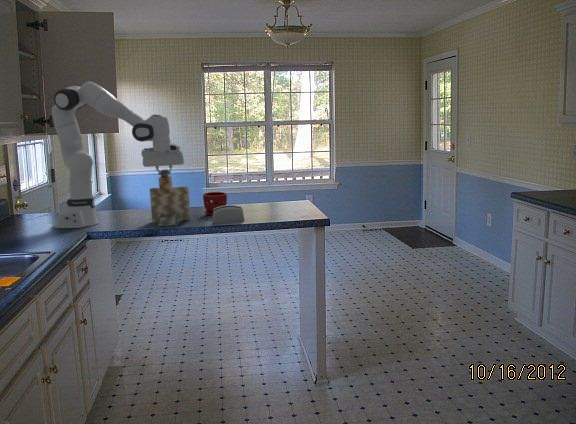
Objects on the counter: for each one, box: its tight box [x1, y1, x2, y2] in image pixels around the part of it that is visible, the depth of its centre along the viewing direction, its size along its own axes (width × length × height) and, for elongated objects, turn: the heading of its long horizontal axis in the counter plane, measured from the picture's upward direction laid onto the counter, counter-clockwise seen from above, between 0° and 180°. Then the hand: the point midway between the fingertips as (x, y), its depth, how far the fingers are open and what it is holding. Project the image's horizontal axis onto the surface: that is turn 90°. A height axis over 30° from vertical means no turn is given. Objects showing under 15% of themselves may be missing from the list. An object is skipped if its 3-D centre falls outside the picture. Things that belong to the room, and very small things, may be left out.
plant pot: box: [202, 191, 228, 217], centre depth 308 cm, size 13×13×12 cm
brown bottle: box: [158, 168, 173, 194], centre depth 281 cm, size 5×10×12 cm, turn 5°
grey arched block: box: [211, 204, 245, 224], centre depth 286 cm, size 17×5×10 cm, turn 101°
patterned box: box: [149, 185, 192, 227], centre depth 287 cm, size 20×16×18 cm
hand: (164, 174), depth 280 cm, fingers closed on brown bottle, 3 cm apart
